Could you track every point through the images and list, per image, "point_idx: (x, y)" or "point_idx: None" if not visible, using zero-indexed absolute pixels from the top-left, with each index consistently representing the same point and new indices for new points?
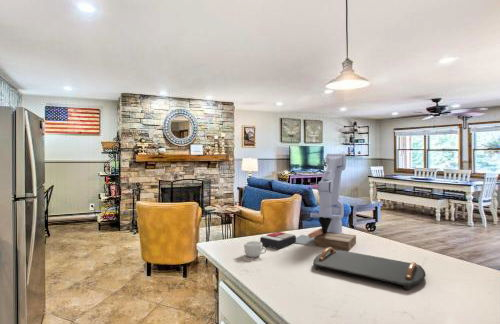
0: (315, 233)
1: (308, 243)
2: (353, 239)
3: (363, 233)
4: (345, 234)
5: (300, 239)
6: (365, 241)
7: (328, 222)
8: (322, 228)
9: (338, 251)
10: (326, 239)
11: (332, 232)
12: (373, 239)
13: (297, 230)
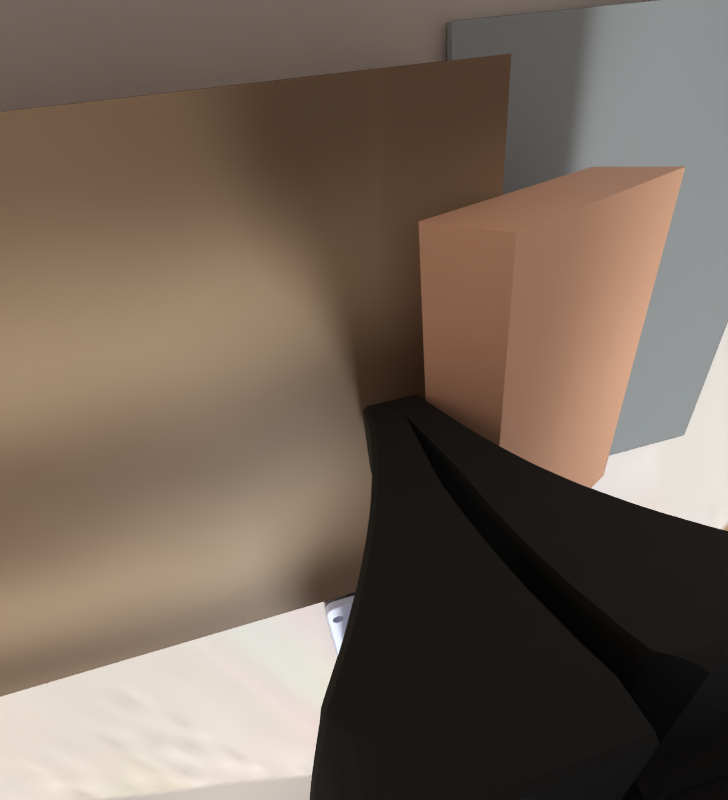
0: (552, 201)
1: (549, 112)
2: None
3: (233, 778)
4: (140, 636)
5: (687, 254)
6: (37, 688)
7: (339, 689)
8: (476, 439)
9: None
10: (166, 93)
11: (354, 586)
12: (42, 757)
13: (720, 524)
